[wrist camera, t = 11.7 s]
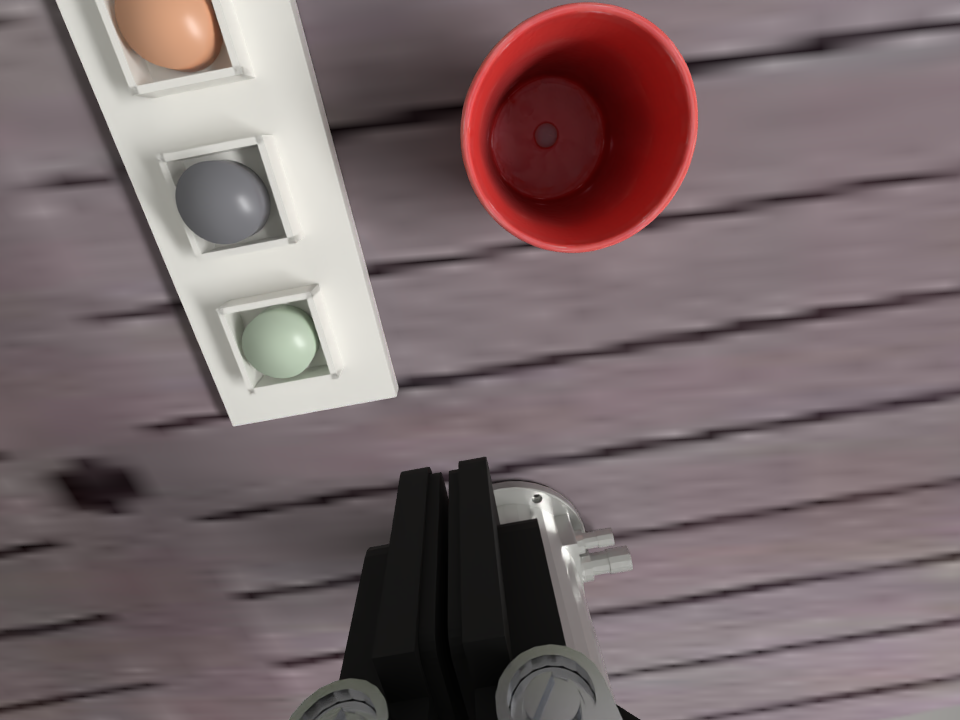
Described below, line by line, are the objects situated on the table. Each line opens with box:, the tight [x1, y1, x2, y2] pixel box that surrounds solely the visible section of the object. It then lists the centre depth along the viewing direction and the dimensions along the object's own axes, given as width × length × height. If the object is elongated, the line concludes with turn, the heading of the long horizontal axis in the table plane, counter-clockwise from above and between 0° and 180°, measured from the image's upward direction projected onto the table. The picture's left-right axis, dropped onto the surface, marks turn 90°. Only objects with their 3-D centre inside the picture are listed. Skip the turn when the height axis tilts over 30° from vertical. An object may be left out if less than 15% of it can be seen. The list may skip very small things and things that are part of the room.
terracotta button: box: [114, 0, 223, 72], centre depth 27 cm, size 4×4×2 cm
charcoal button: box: [175, 160, 271, 244], centre depth 30 cm, size 4×4×2 cm
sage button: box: [242, 304, 320, 378], centre depth 34 cm, size 4×4×2 cm
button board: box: [56, 0, 398, 426], centre depth 32 cm, size 12×30×4 cm, turn 10°
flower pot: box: [460, 2, 698, 253], centre depth 28 cm, size 11×11×10 cm
